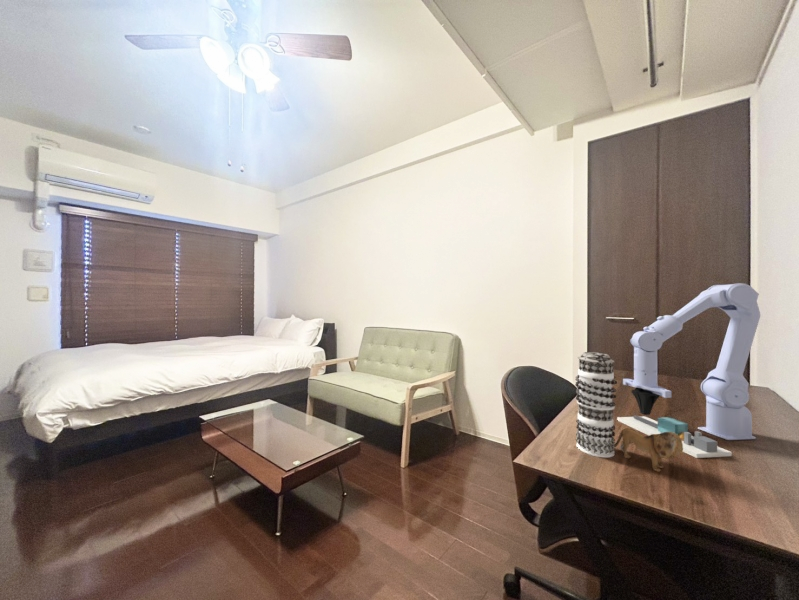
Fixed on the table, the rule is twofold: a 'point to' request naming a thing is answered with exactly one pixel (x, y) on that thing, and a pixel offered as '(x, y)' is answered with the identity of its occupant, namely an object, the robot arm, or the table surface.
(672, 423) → the sleeve
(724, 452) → the cable board
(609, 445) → the decorative candle
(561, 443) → the table surface
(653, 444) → the lion figurine
